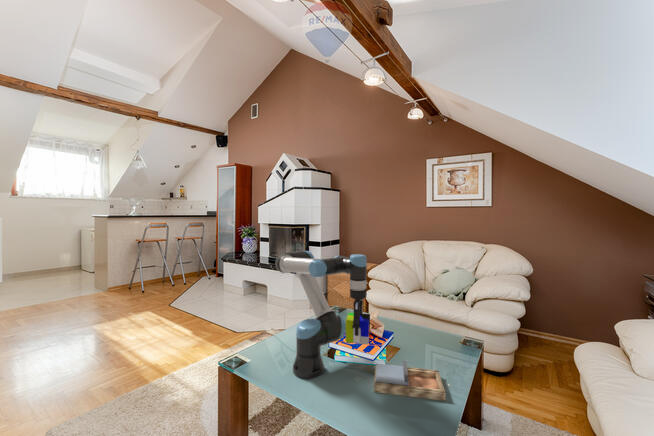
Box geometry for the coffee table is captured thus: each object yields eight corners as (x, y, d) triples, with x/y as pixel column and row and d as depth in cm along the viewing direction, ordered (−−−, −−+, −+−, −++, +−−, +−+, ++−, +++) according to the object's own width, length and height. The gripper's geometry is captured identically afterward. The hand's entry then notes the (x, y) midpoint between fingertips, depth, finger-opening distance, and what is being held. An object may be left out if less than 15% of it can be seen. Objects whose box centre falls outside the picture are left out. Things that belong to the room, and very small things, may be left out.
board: (374, 391, 129) (374, 384, 129) (375, 369, 147) (375, 363, 147) (445, 400, 123) (445, 392, 123) (438, 376, 141) (438, 369, 141)
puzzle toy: (368, 344, 132) (368, 321, 131) (345, 342, 134) (345, 320, 133) (370, 335, 141) (370, 314, 141) (348, 333, 143) (348, 312, 143)
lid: (375, 381, 131) (375, 373, 131) (376, 365, 144) (376, 357, 144) (408, 385, 128) (408, 376, 128) (406, 368, 142) (406, 360, 142)
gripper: (364, 296, 125) (364, 348, 126) (368, 283, 147) (368, 328, 148) (346, 295, 127) (346, 347, 127) (353, 282, 149) (353, 326, 149)
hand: (358, 337), depth 137 cm, fingers closed on puzzle toy, 10 cm apart
